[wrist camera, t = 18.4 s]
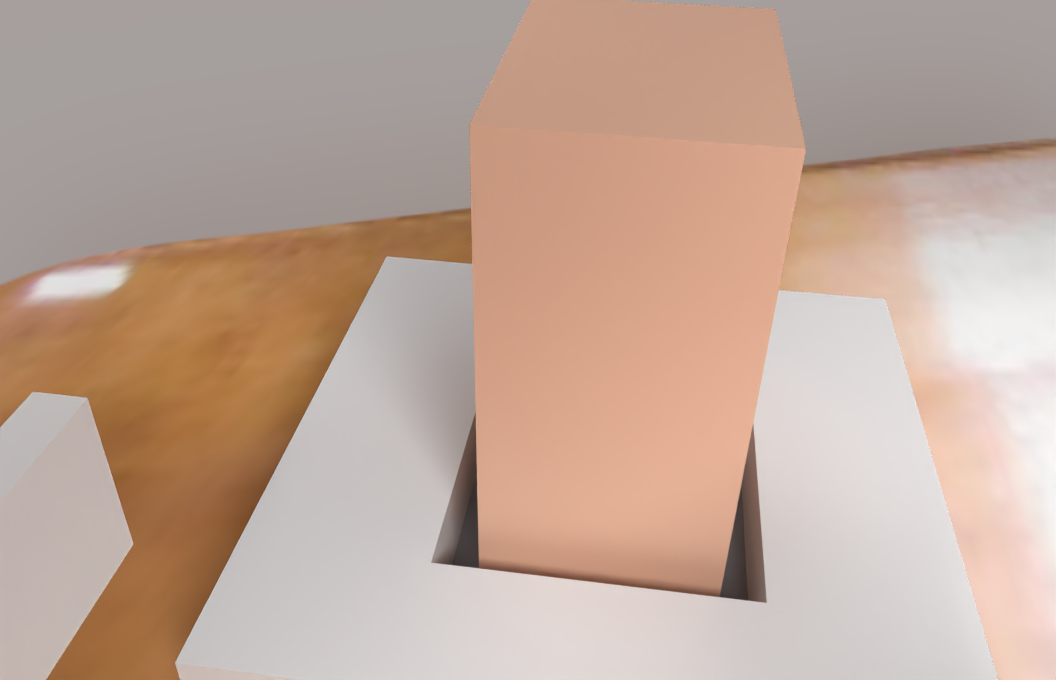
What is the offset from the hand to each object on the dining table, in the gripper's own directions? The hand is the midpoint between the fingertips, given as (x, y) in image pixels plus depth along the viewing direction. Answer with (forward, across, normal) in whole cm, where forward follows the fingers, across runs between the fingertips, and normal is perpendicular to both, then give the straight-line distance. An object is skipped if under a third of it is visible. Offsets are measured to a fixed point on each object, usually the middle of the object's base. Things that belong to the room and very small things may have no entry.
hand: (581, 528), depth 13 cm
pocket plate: (+8, 0, -8) cm, 12 cm away
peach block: (+8, 0, -8) cm, 11 cm away
